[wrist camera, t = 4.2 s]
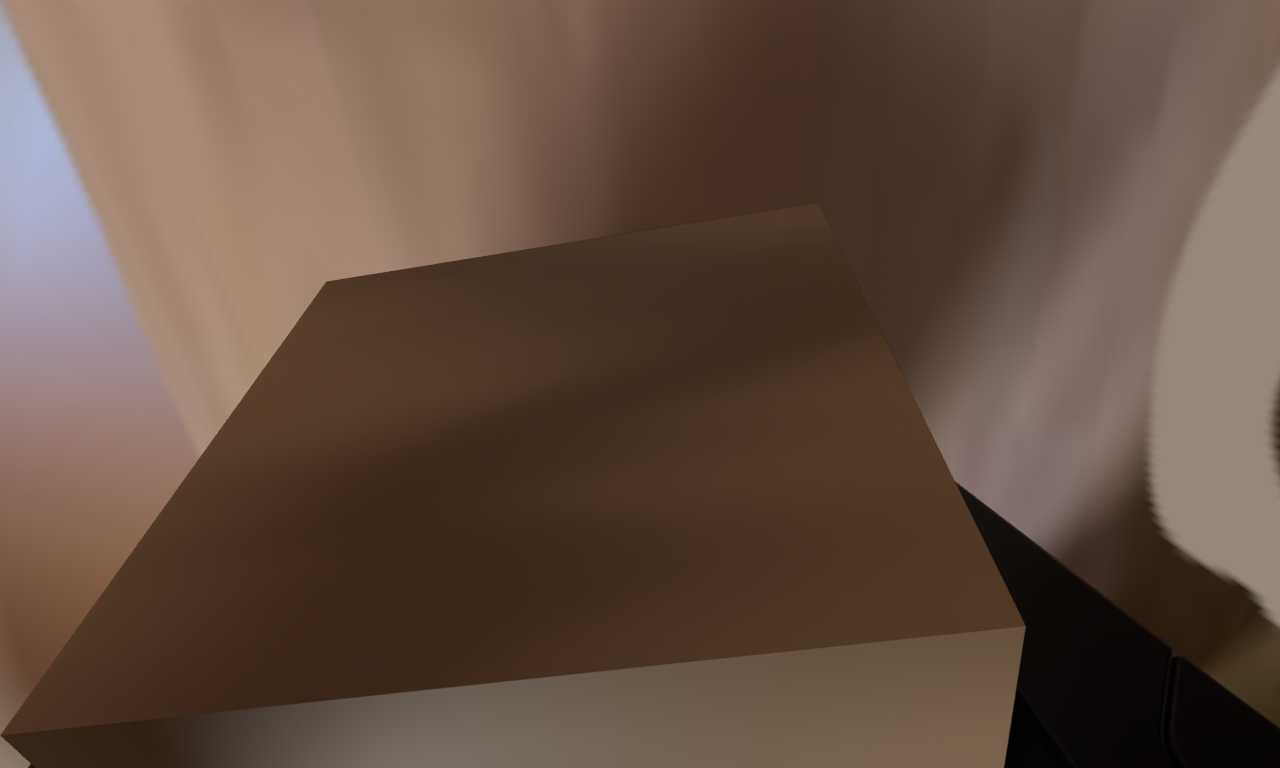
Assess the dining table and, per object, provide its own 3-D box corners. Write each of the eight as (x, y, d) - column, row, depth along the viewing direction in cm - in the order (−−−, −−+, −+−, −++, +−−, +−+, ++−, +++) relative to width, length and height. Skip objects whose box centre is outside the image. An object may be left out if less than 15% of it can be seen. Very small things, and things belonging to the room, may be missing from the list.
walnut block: (817, 202, 8) (1026, 628, 4) (835, 560, 10) (963, 1033, 6) (326, 282, 8) (1, 735, 4) (468, 603, 11) (363, 1068, 7)
